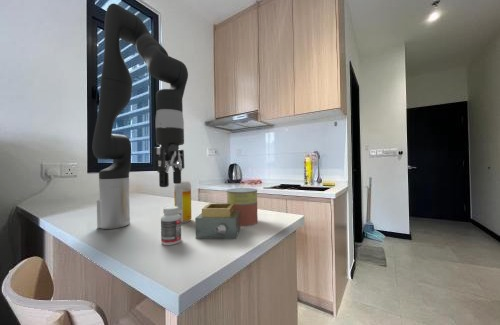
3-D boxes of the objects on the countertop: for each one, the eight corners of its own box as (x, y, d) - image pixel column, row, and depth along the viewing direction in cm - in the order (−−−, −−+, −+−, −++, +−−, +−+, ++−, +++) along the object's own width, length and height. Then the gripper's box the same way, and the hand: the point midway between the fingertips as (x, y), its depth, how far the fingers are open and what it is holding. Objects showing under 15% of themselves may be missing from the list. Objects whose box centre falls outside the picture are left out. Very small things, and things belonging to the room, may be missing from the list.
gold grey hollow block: (193, 240, 61) (192, 211, 61) (205, 227, 73) (204, 202, 73) (234, 241, 60) (234, 211, 60) (240, 228, 72) (239, 202, 72)
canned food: (262, 219, 82) (262, 188, 82) (249, 228, 71) (248, 192, 71) (236, 217, 87) (236, 187, 86) (221, 224, 76) (220, 191, 76)
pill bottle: (181, 244, 59) (180, 208, 59) (160, 246, 57) (159, 210, 57) (181, 237, 64) (181, 205, 64) (162, 239, 62) (161, 206, 62)
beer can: (193, 219, 85) (193, 181, 84) (187, 223, 78) (187, 182, 78) (179, 218, 85) (178, 181, 85) (172, 223, 79) (171, 182, 79)
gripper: (168, 131, 68) (169, 182, 68) (143, 124, 54) (144, 188, 54) (191, 131, 67) (192, 182, 67) (171, 123, 53) (173, 188, 53)
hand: (171, 185), depth 61 cm, fingers open, 8 cm apart
